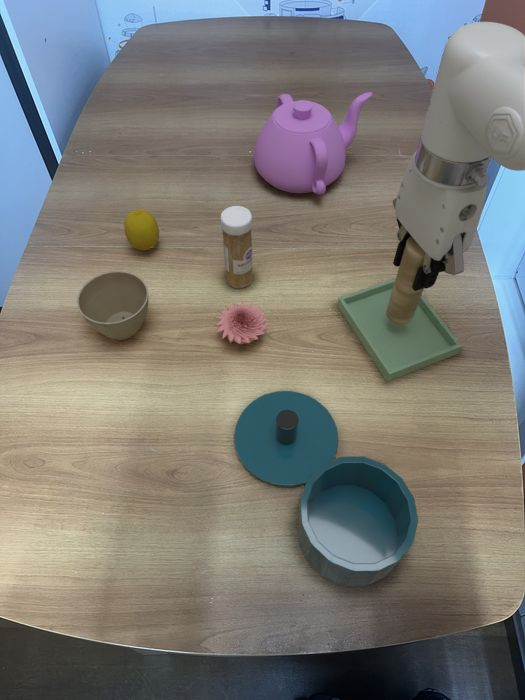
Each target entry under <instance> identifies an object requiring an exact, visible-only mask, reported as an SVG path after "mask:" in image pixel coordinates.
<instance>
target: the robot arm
mask: <svg viewBox="0 0 525 700" xmlns="http://www.w3.org/2000/svg"><path fill="white" fill-rule="evenodd" d="M436 73H437V74H436V76H435V77H436V78H435V80H434V81H435V82H434V85H433V88H432V93H431V96H430V100H429V103H428V107H427V111H426V115H425V119H424V122H423V126H422V130H421V133H420V138H419V142H418V144H417V149H416V150H415V151H414V153H413V155H412V157H411V159H410V161H409V162H408V165H407V168H406V169H405V171H404V175H403V178H402V180H401V183H400V186H399V190H398V192H397V197H395V198H394V199H393V200H392V205H393V208H394V213H395V216H396V223H397V227H398V231H397V233H396V238H397V241H398V244H397V247H396V251H395V253H394V254H395V255H394V258H393V261H392V264H393V265H394V267H398V268H399V266H400V262H401V259H402V256H403V252H404V249H405V246H406V242H407V240H408V238H409V237H410V236H412V237H413V238H414V239H415V241H416V242H417V243H418V244H419V245H420V247H421V248H422V249H423V250H424V251H425V256H424V262H423V266H421V267H419V268H418V270H417V273H416V276H415V279H414V282H413V285H412V288H413V290H414V291H418V290H420V289H423V288H424V290H426V289H429V288H432V287H433V286H434V285H435V284H436V282H437V279H438V276H439V273H445V274H447V275H448V274H449V275H451V276H456V275H459V274H463V273H464V272H465V263H464V253H466V252H468V251H469V249H470V248H471V246H472V244H473V240H474V238H475V235H476V232H477V229H478V226H479V223H480V220H481V217H482V213H483V210H484V206H485V201H486V196H487V187H488V182H489V180H490V175H488V174H487V169H488V166H489V164H490V162H491V159H492V160H493V161H494V162H496V163H497V164H498V165H500V166H502V167H503V168H504V169H508V170H510V171H517V172H521V171H525V34H523V32H521V31H519V30H518V29H516V28H515V27H512V26H509V25H507V24H504V23H500V22H494V21H476V22H469V23H467V24H464V25H462V26H460V27H458V28H457V29H456V30H455V31H454V32H452V33H451V35H450V36H449V37H448V40H447V41H446V43H445V46H444V48H443V51H442V55H441V58H440V63H439V66H438V70H437V72H436Z"/></svg>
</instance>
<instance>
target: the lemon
mask: <svg viewBox="0 0 525 700" xmlns="http://www.w3.org/2000/svg"><path fill="white" fill-rule="evenodd" d="M123 226H124V227H123V230H124V235H125V238H126V240H127V241H128V243H129V244H130V245H131V246H132V247H133V248H134V249H137V250H140V251H147V250H150V249H152V248H153V247H154V246H155V245H156V244H157V243H158V241H159V238H160V228H159V224H158V221H157V219H156V218H155V216H154V215H153V214H152V213H151V212H150V211H148V210H146V209H134V210H132V211H130V212H129V213H128V214H127V216H126V217H125V220H124V225H123Z"/></svg>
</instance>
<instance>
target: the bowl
mask: <svg viewBox="0 0 525 700" xmlns="http://www.w3.org/2000/svg"><path fill="white" fill-rule="evenodd" d="M76 307H77V309H78V311H79V313H80V314H81V316H82V318H83V319H84V320H85V321H86V322H87V324H89V325H90V327H92V328H93V329H94V330H95V331H96V332H98V333H100V334H101V335H103V336H105V337H107V338H110V339H113V340H119V341H122V340H123V341H124V340H127V339H130V338H132V337H133V336H135V335H136V334H137V333H138V332H139V330H140V329H141V327H142V326H143V324H144V322H145V320H146V317H147V313H148V310H149V309H148V308H149V289H148V286H147V284H146V282H145V281H144V280H143V278H141V277H140V276H139V275H137V274H135V273H132V272H130V271H123V270H112V271H105V272H103V273H99V274H97V275H95V276H94V277H92V278H90V279H89V280H87V282H85V283H84V285H83V286H82V287H81V288H80V289H79V292H78V294H77V297H76Z"/></svg>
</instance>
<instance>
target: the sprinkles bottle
mask: <svg viewBox="0 0 525 700" xmlns="http://www.w3.org/2000/svg"><path fill="white" fill-rule="evenodd" d="M220 228H221V230H222V231H221V232H222V244H223V245H222V247H223V257H224V268H225V281H226V283H227V284H228V285H229V286H230V287H232V288H234V289H244V288H247V287H249V286H250V285H251V284H252V283H253V281H254V274H253V261H254V260H253V259H254V257H253V245H252V243H253V241H252V240H253V239H252V228H253V214H252V212H251V210H249V208H246V207H244V206H241V205H232V206H229V207H227V208H225V209H224V210H223V211H222V212H221V214H220Z"/></svg>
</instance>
